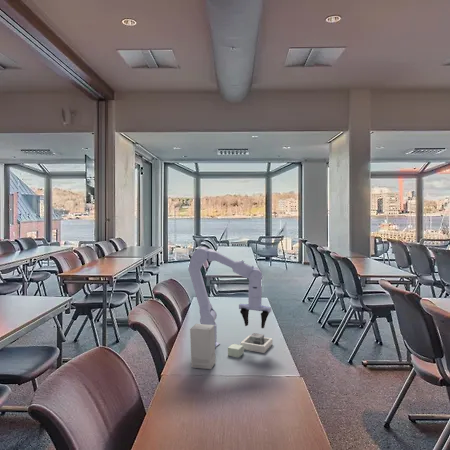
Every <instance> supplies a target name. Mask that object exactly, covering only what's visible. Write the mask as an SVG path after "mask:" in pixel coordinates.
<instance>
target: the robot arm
mask: <svg viewBox="0 0 450 450" xmlns="http://www.w3.org/2000/svg"><path fill="white" fill-rule="evenodd" d="M206 261H208V262H215V261H216V262H218V263H219V264H222V265H224V266H226V267H229V268H231V269H232V272H233V273H234V274H236V275H239V276H241V277H243V278H245V279H248V281H249V282H248V303H240V304H238V309H239V311H240V315H241V316H242V319H243V322H244V327H247V326H249V314H250V313H249V312H250V311H257V312H261V313H260V318H261V323H260V324H261V325H260V326H261V327H260V328H261V329H265V326H266V325H265V324H266V323H267V322H266V321H267V318H268V316H269V315H270V313H271V312H272V307H270V306H266V305H262V298H263V297H262V293H263V292H262V288H263V286H262V279H263V274H262V271H261V270H260V269H259V268H258V267H255V266H254V265H252V266H251V265H249V264H247V263H245V261H244V260H240V259H238V260H236V261H235V260H233V259H231V258H230V257H227V255H226V256H225V255H224V254H222V253H220V252H218V251H216V250H215V249H212V248H208V247H207V246H201V247H200V246H199V248H197V249H195V250H194V251H193V253H192V254H191V258H190V261H189V264H188V272H189V277H190V279H191V283H192V286H193V290H194V293H195V296H196V300H197V303H198V306H199V307H198V308H199V316H200V318H199V322H200V323H199V324H206V325H214V332H215V348H216V347H218V346H219V345H221V343H220V342H218V341H217V333H218V332H217V326H218V325H217V323H216V322H215V321H216V319H217V312H216V311H215V309H214V308H213V305H212V303H211V302H210V298H209V296H208V292H207V288H206V284H205V281H204V278H203V275H202V272H201V269H202V267H203V265H204V263H205V262H206Z"/></svg>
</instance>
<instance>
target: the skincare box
mask: <svg viewBox="0 0 450 450" xmlns="http://www.w3.org/2000/svg"><path fill="white" fill-rule="evenodd" d="M189 332H190V335H189V337H190V363H191V368H193V369H195V368H196V369H203V370H212V368H213V367H214V366H215V364H216V347H215V332H214V325H206V324H201V323H195V324H194V325H193V326H192V327H190V328H189Z"/></svg>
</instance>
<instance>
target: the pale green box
mask: <svg viewBox="0 0 450 450" xmlns="http://www.w3.org/2000/svg"><path fill="white" fill-rule="evenodd" d="M243 354H244V346H243V345H241V344H237V343H232V344H231V345H229V346H228V347H227V356H228V357H233V358H240V357H241V356H242V355H243Z"/></svg>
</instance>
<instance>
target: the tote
mask: <svg viewBox="0 0 450 450" xmlns="http://www.w3.org/2000/svg"><path fill="white" fill-rule="evenodd" d="M251 335H252V334H249V335H247V337H245V338H244V339H242V341H241V342H240V345H243V346H244V350H245V351H251V352H257V353H263V354H265V353H266V352H267V351H268V350H269V349H270V348H271V347H272V346H273V338H272V337H265V336H264V345H258V344H251V343H250V336H251Z"/></svg>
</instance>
